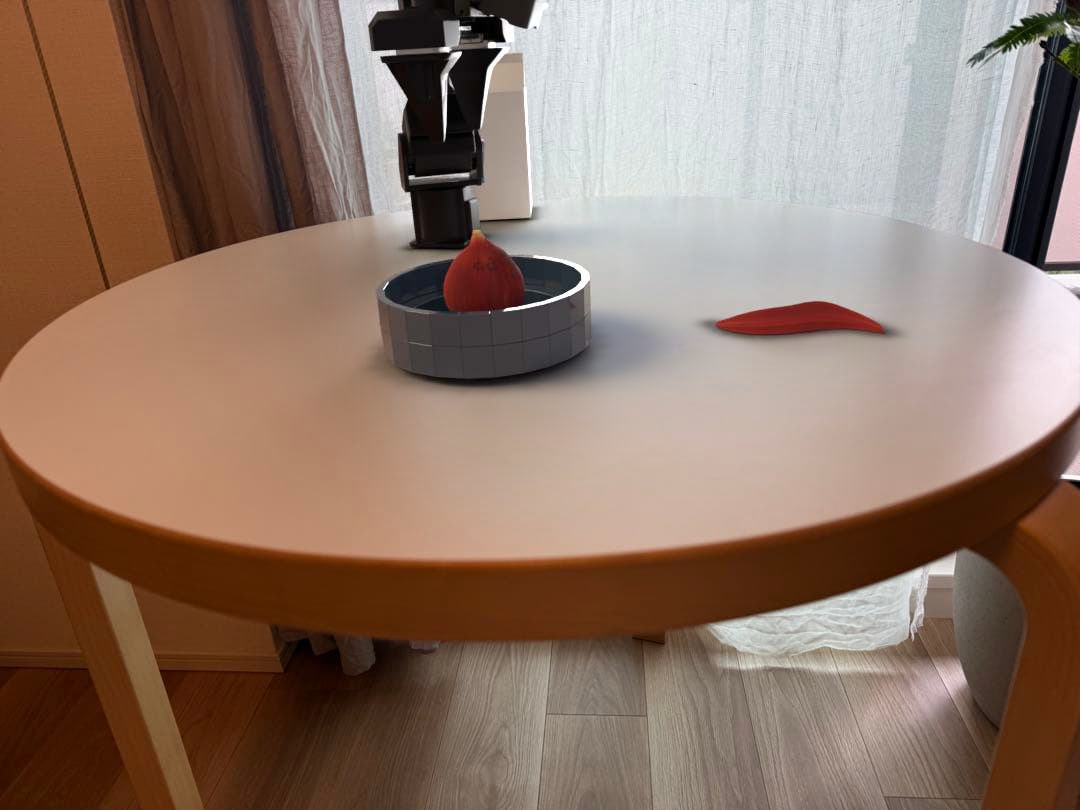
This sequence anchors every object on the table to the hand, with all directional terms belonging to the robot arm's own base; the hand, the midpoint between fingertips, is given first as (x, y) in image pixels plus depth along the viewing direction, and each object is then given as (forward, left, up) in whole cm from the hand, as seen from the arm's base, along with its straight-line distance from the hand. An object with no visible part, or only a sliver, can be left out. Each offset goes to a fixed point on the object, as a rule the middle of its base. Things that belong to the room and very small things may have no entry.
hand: (457, 135), depth 73 cm
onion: (+8, -18, -13) cm, 23 cm away
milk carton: (-6, +29, -13) cm, 32 cm away
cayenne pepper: (+30, -11, -13) cm, 34 cm away
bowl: (+8, -18, -13) cm, 24 cm away
